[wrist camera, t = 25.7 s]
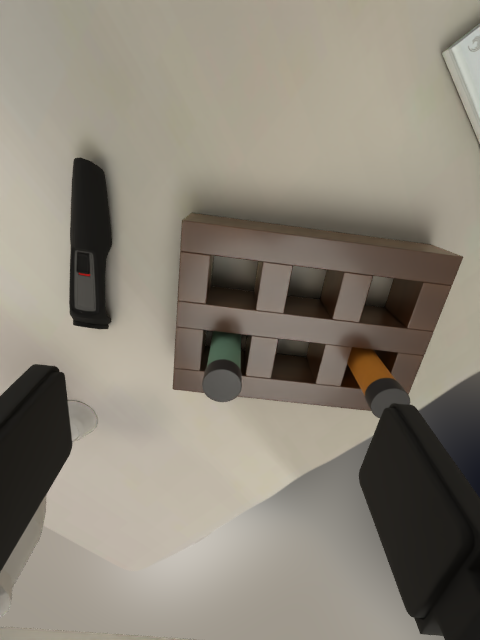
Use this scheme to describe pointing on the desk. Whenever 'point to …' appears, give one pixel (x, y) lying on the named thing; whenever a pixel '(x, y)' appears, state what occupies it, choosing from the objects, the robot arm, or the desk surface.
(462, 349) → the desk surface
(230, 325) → the rack
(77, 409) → the chalice
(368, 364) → the amber tube
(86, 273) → the electric trimmer
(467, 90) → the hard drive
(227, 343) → the sage tube
